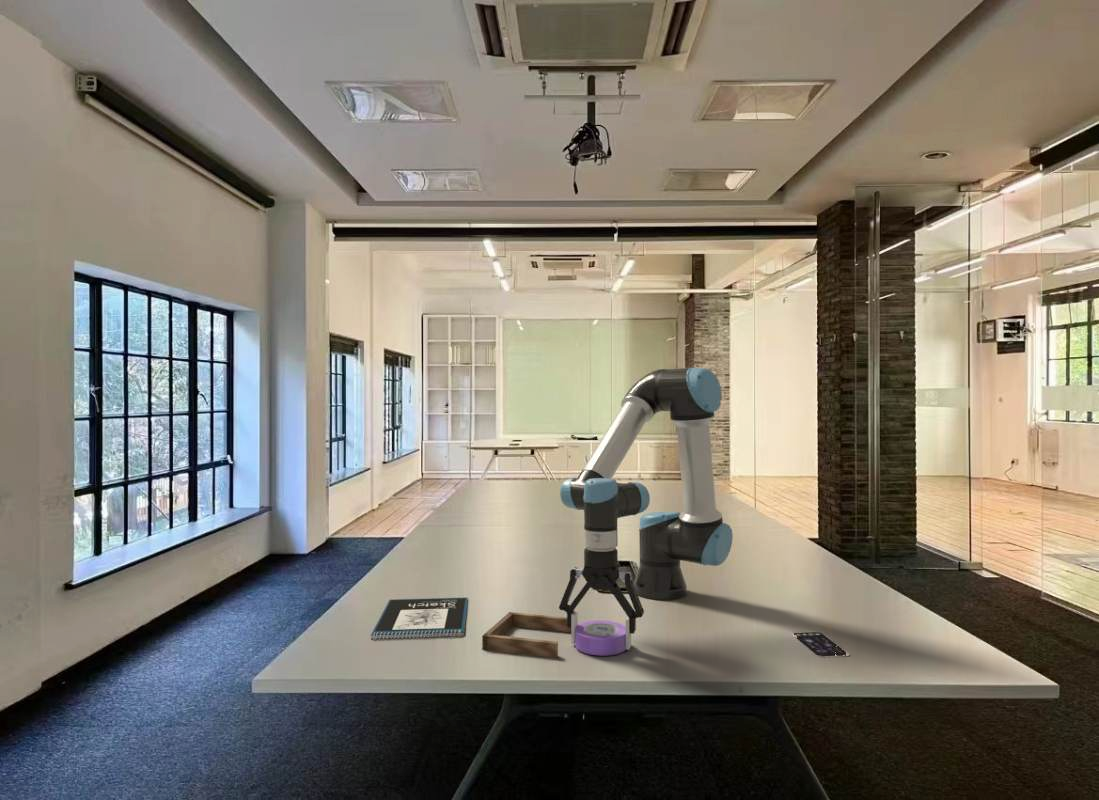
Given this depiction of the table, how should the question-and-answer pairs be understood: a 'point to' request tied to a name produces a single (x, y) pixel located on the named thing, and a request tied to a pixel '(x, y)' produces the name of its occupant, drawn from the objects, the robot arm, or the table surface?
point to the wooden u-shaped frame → (523, 645)
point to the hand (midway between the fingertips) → (601, 644)
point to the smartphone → (819, 644)
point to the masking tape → (600, 637)
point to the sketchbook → (422, 618)
